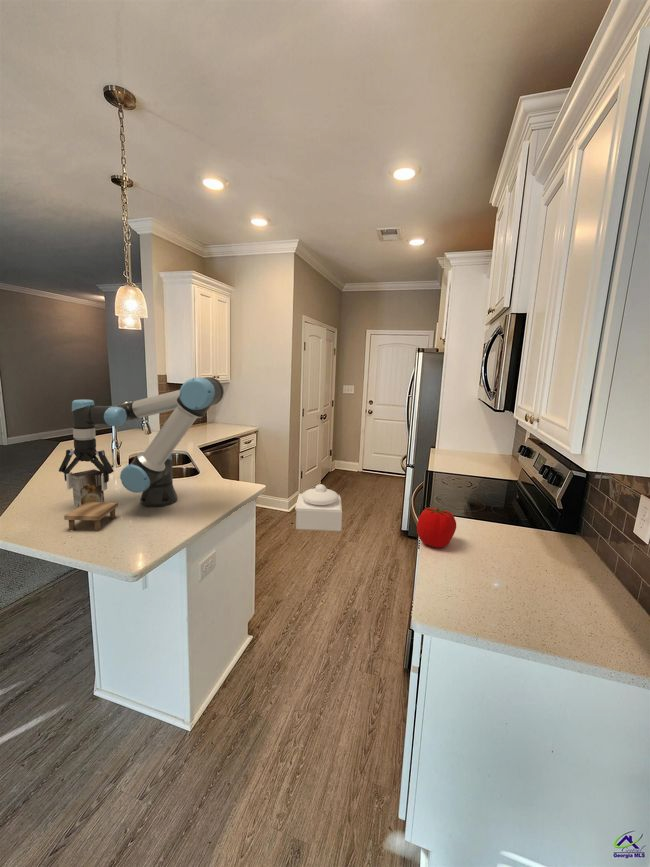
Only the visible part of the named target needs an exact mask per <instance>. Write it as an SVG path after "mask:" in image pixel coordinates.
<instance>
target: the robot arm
mask: <svg viewBox="0 0 650 867" xmlns="http://www.w3.org/2000/svg"><path fill="white" fill-rule="evenodd" d="M224 393H225V391H224V387H223V385H222V383H221V382H220V381H219V380H218V379H217V378H215V377H211V376H206V377H205V376H204V377H201V376H196V377H193V378H189V379H187V380H186V381H185V382H184V383H183V384H182V385H181V386H180V388H179V389H177V390H174V391H170V392H166V393H162V394H158V395H154V396H149V397H146V398H142V399H137V400H134V401H130V402H126V403H120V404H115V405H108V406H107V405H104V406H103V405H96V404H95V401H94V400H93V399H82V398H81V399H74V400H72V402H71V417H72V435H73V436H72V437H73V448H74V449H73V448H69V449H66V450H65V456H64V458H63V460H62V462H61V464H60V467H59V468H58V472H60V473H63V474H64V476H63V477H64V482H66V490H71V489H73V487H72V476H71V474H73V472H72V470H73V469H74V467H75V466H76V465H77V464H79V462H90V463H91V464H93V465H94V466H95V467H96V468H97V469H98V471H101V472H102V475H101V483H102V491H103V492H104V491H107V490H108V482H109V481H110V475H109V474H112V473H114V472H115V471H114V468H113V467H112V465H111V464H110V462H109V460H108V457H107V456H106V452H105V450H104V449H102V450H97V439H96V436H97V435H96V434H97V433H96V425H98V426H99V425H100V426H110V427H120V426H123V425H124V424H125V423H126V422H131V421H134V420H138V419H141V418H145V417H150V416H154V415H158V414H163V413H166V412H170V411H172V413H171V414H169V415H170V416H169V417H168V418H167V419H166V421H165V422H164V424H163V425H162V426H161V428H160V430H159V431H158V432H157V434H156V435H155V437H154V438H153V439H152V440H151V442H150V444H148V446H147V447H146V449H145V450H144V451H140V452H138V454H137V455H136V456H135V458H133V460H132V462H131V463H129V464H127V465H125V467H123V468H122V469H121V471H120V475H119V476H120V477H119V478H120V482H121V485H122V486H123V487H124V488H125V489H126V490H127V491H129V492H131V493H136V494H137V493H138V494H139V493H141V496H140V500H139V503H140V506H142V507H145V508H164V507H168V506H172V505H173V504H175V503H177V502H178V494H177V492H176V490H175V487H174V485H173V477H174V476H173V456H172V453H173V451H174V450H175V449H176V448H177V446H178V445H179V443H180V442H181V441H182V439H183V438H184V437H185V435H186V434H187V432H188V431H189V430H190V428H191V427H192V426H193V424H194V422H195V421H196V420H197V419H200V418H201V419H202V418H203V417H205V415H206V413H207V412H208V410H209V409H210V408H211V407H212V406H215V405H217V404H219V403H220V402H221V400H222V399H223V397H224ZM73 455H75V457H74V458H73V460H72V461H71V458H72V457H73ZM98 457H99V458H98Z"/></svg>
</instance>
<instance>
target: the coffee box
mask: <svg viewBox="0 0 650 867" xmlns="http://www.w3.org/2000/svg"><path fill="white" fill-rule="evenodd" d="M101 475H103V474H102V472H101V471H100V470H99V469H98V470H97V469H89V470H84V471H79V472H75V473H74V472H72V474H71V476H72V487H73V488H72V497H73V510H74V509H76V508H78V507H79V506H81V505H83V504H84V503H86V502H105V494H104V491H102V483H101Z"/></svg>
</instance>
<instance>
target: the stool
mask: <svg viewBox="0 0 650 867" xmlns="http://www.w3.org/2000/svg"><path fill="white" fill-rule="evenodd" d="M118 507H119V503H118V502H107V501H106V502H105V501H104V502H86V503H84V504H83V505H81V506H79V507H78V508H76V509H74V508H73V510H71V511H70V512H68V513H66V514H64V516H63V517H64V518H63V519H64V520H65V521H68V530H73V531H76V523H75V521H93V522H94V531H95V532H99V531H101V520H102V519H103V518H105V517H106V516H107V515H109V519H110V520H115V519H116V508H118Z"/></svg>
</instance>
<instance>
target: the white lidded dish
mask: <svg viewBox="0 0 650 867" xmlns="http://www.w3.org/2000/svg"><path fill="white" fill-rule="evenodd" d="M342 510H343V509H342V497H341V496H340V494H338V493H337V492H336V491H334V490H333V489H331V488H330V489H328V488H327V487H326V486H325V485H324V484H321V483H320V484H316V485H315V487H314V488H309V489H307V490H305V491H304V492H303V493H298V497H297V501H296V504H295V507H294V511H296V515H295V517H296V518H295V530H301V531H302V530H304V531H307V530H308V531H327V532H342V522H343V511H342Z"/></svg>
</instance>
